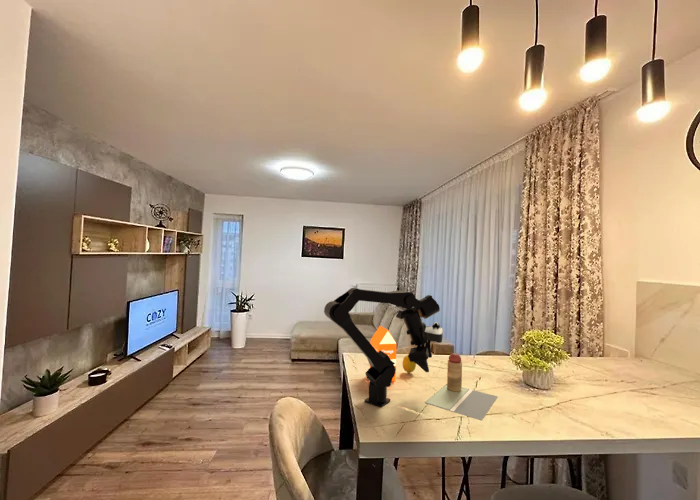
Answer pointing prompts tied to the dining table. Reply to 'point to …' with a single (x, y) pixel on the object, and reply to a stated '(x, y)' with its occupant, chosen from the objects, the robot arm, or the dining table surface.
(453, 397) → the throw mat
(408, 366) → the lemon
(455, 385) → the red topped wooden cylinder
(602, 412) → the dining table surface
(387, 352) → the orange juice
